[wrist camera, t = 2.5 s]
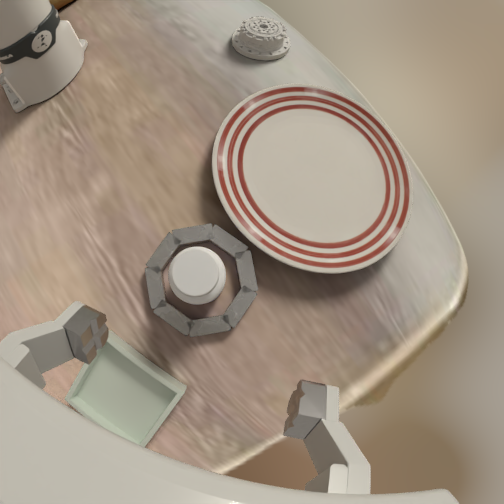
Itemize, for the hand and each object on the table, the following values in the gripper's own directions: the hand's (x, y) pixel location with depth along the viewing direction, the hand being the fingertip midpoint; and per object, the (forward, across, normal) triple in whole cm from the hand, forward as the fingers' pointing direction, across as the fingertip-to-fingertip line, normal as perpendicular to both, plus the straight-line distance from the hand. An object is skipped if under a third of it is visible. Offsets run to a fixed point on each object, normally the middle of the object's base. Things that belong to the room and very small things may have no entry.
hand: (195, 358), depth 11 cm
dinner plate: (+32, -4, -2) cm, 33 cm away
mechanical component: (+45, +10, -20) cm, 50 cm away
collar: (+20, +6, +11) cm, 23 cm away
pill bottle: (+20, +6, +11) cm, 23 cm away
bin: (+9, +11, +23) cm, 27 cm away
